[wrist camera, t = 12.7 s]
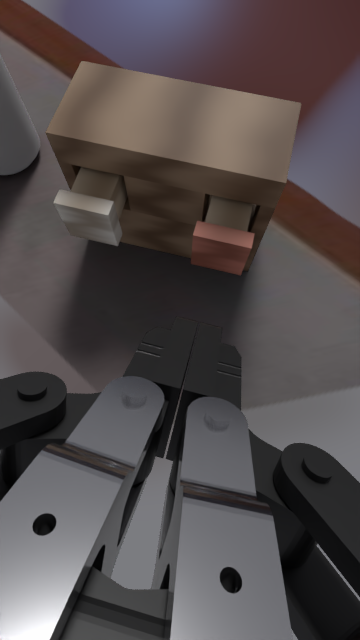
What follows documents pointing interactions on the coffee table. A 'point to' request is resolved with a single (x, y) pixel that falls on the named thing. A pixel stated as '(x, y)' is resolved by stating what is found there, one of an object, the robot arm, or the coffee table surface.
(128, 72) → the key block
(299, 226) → the coffee table surface
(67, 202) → the key cream
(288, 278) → the coffee table surface
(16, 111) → the can
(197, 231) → the key red
